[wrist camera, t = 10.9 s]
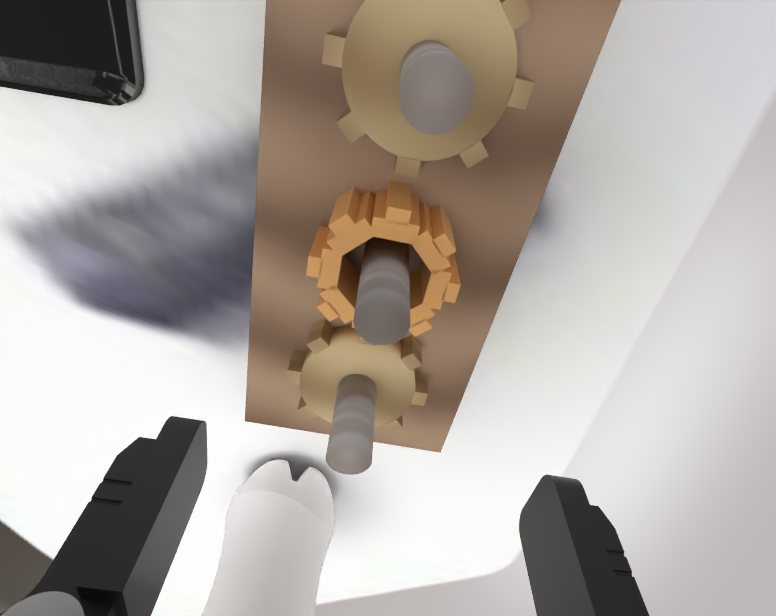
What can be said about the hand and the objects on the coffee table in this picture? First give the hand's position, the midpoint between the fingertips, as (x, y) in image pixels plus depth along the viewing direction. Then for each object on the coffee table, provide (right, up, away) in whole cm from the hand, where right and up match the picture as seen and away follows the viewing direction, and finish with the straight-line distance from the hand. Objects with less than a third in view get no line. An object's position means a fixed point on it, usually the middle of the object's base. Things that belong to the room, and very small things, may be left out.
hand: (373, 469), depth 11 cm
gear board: (0, +8, +12) cm, 14 cm away
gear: (0, +7, +10) cm, 12 cm away
